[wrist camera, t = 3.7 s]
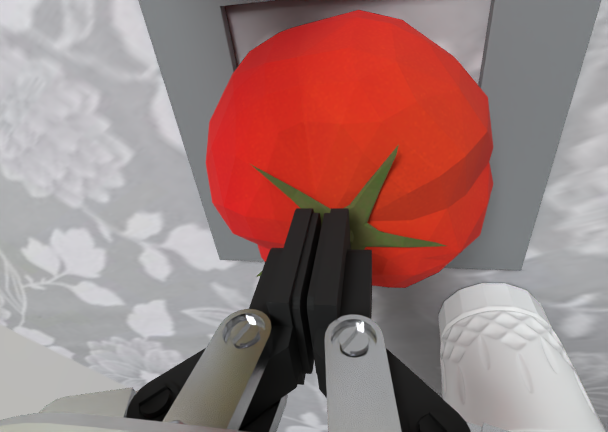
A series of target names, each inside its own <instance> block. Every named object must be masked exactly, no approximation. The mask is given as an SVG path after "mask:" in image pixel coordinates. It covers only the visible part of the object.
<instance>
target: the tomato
mask: <svg viewBox="0 0 608 432" xmlns="http://www.w3.org/2000/svg"><path fill="white" fill-rule="evenodd" d="M492 151H493V139H492V130H491V121H490V112H489V102H488V97H487V95H486V94H485V93H484V92H483V91H482V89H481V88H480V87H479V86H478V85H477V83H476V82H475V81H474V80H473V79H472V77H471V76H470V75H469V74H468V73H467V71H466V70H465V69H464V68H463V67H462V65H461V64H460V63H459V62H458V61H457V60H456V59H455V58H454V56H452V55H451V54H450V53H448V52H447V51H445V50H444V49H442V48H441V47H440V46H438V45H437V44H435V43H434V42H433V41H431V40H430V39H428V38H427V37H426V36H424V35H423V34H421V33H420V32H418V31H417V30H416V29H414V28H413V27H411V26H410V25H409V24H407V23H406V22H404V21H403V20H401V19H396V18H392V17H388V16H383V15H379V14H375V13H370V12H366V11H362V10H357V11H353V12H349V13H345V14H341V15H338V16H334V17H330V18H326V19H323V20H319V21H315V22H311V23H308V24H304V25H300V26H296V27H293V28H290V29H287V30H285V31H282V32H280V33H278V34H276V35H275V36H273V37H271V38H270V39H268V40H267V41H265V42H264V43H262V44H260V45H259V46H257V47H256V48H254V49H253V50H251V51H250V52H249V53H248V54H247V56H246V57H245V58H244V59H243V61H242V62H241V63H240V65H239V66H238V67H237V69H236V70H235V71H234V72H233V74H232V76H231V78H230V80H229V82H228V84H227V86H226V88H225V90H224V92H223V94H222V96H221V98H220V101H219V103H218V105H217V107H216V109H215V111H214V113H213V115H212V117H211V119H210V122H209V131H208V142H207V153H206V168H207V174H208V180H209V186H210V192H211V198H212V203H213V204H214V206H215V207H216V209H217V210H218V212H219V213H220V215H221V216H222V218H223V219H224V221H225V222H226V224H227V225H228V227H229V228H230V230H231V231H232V233H233V234H235V235H237V236H240V237H242V238H244V239H246V240H249V241H251V242H253V243H256V244H257V245H258V248H259V252H260V255H261V258H262V259H263V260H264V261H265V262H266V259H267V256H268V254H269V251H270V249H271V248H283V247H284V244H285V241H286V238H287V235H288V231H289V228H290V225H291V222H292V219H293V215H294V212H295V210H296V208H313V209H314V213H320V217H321V227H322V222H323V217H324V213H330V211H331V208H348V209H349V224H350V245H351V249H359V250H372V285H373V286H382V287H394V288H406V287H408V286H410V285H412V284H414V283H417V282H419V281H421V280H423V279H425V278H427V277H429V276H431V275H434V274H436V273H438V272H439V271H441V270H442V269H443V268H444V267H445V266H446V265H447V264H449V263H450V262H451V261H452V260H453V259H454V258H455V257H456V256H457V255H459V254H460V253H461V252H462V251H463V250H464V249H465V248H466V247H468V246H469V245H470V244H471V243H472V242H473V241H474V240H475V239H476V238H478V237H479V236H480V234H481V230H482V226H483V222H484V218H485V215H486V211H487V207H488V203H489V199H490V195H491V191H492V188H493V179H492V173H491V168H490V163H489V161H490V157H491V154H492ZM261 273H262V272H260V273H259V274H258V275H257V276H261ZM257 276H256V277H257Z"/></svg>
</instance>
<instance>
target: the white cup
mask: <svg viewBox="0 0 608 432" xmlns="http://www.w3.org/2000/svg"><path fill="white" fill-rule="evenodd" d="M438 319H439V330H440V340H441V347H440V363H441V384H442V397H443V400H444V401H446V402H447V403H448V404H449V405H450V406H451V407H452V408H453V409H454V410H456V411H457V412H458V413H459V414H460V415H461V417H462V418H463V419H464V420H465V421H466V422H469V423H472V424H475V425H478V426H481V427H482V425H483V423H485V424H488V425H492V426H495V427H498V428H501V429H504V430H507V431H510V432H606V431H605V429H604V427H603V425H602V423H601V421H600V419H599V417H598V415H597V413H596V411H595V408H594V406H593V404H592V402H591V400H590V398H589V396H588V394H587V392H586V390H585V388H584V386H583V384H582V382H581V380H580V378H579V376H578V374H577V372H576V370H575V368H574V366H573V365H572V363H571V361H570V359H569V358H568V356H567V354H566V351H565V349H564V347H563V345H562V343H561V342H560V340H559V338H558V337H557V335H556V333H555V332H554V331H553V329H552V327H551V325H550V323H549V321H548V319H547V316H546V314H545V312H544V310H543V308H542V306H541V304H540V303H539V302H538V301H537V300H536V299H535V298H534V297H533V296H532V295H531V294H530V293H529V292H528V291H527V290H524V289H521V288H518V287H515V286H512V285H509V284H506V283H480V284H477V285H473V286H470V287H467V288H463V289H460V290H458V291H457V292H456V293H454V294H453V295H452V296H450V297H449V298H448V299H447V300H445V301H444V303H443V305H442V308H441V310H440V313H439V315H438Z"/></svg>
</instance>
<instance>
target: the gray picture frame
mask: <svg viewBox="0 0 608 432" xmlns="http://www.w3.org/2000/svg"><path fill="white" fill-rule="evenodd" d="M264 1H273V0H139V4H140V7H141V10H142V13H143V16H144V20H145V23H146V26H147V29H148V32H149V36H150V39H151V42H152V45H153V48H154V51H155V55H156V58H157V61H158V64H159V67H160V71H161V74H162V77H163V80H164V83H165V86H166V90H167V93H168V96H169V99H170V102H171V106H172V109H173V112H174V115H175V118H176V121H177V125H178V128H179V131H180V134H181V137H182V141H183V144H184V147H185V150H186V153H187V156H188V160H189V163H190V166H191V169H192V172H193V176H194V179H195V182H196V185H197V188H198V191H199V195H200V198H201V201H202V204H203V207H204V211H205V214H206V217H207V220H208V223H209V227H210V230H211V233H212V236H213V239H214V242H215V246H216V249H217V252H218V255H219V258H220V260H242V261H264V260H263V259H262V258H261V255H260V252H259V248H258V245H257V244H256V243H253V242H251V241H249V240H246V239H244V238H242V237H240V236H237V235H235V234H233V233H232V231H231V230H230V228H229V227H228V225H227V224H226V222H225V221H224V219H223V218H222V216H221V215H220V213H219V212H218V210H217V209H216V207H215V206H214V204H213V203H212V198H211V192H210V186H209V180H208V174H207V168H206V153H207V142H208V131H209V122H210V119H211V117H212V115H213V113H214V111H215V109H216V107H217V105H218V103H219V101H220V98H221V96H222V94H223V92H224V90H225V88H226V86H227V84H228V82H229V80H230V78H231V76H232V74H233V72H234V71H235V70H236V69H237V66H236V61H235V56H234V51H233V46H232V41H231V36H230V31H229V26H228V21H227V16H226V11H225V6H226V5H236V4H245V3H254V2H264ZM600 3H601V0H491V6H490V13H489V19H488V26H487V32H486V39H485V46H484V52H483V59H482V65H481V72H480V78H479V85H478V86H479V87H480V88H481V89H482V91H483V92H484V93H485V94H486V95H487V97H488V102H489V112H490V121H491V130H492V139H493V151H492V154H491V157H490V161H489V163H490V168H491V173H492V179H493V188H492V191H491V195H490V199H489V203H488V207H487V211H486V215H485V218H484V222H483V226H482V230H481V234H480V236H479V237H478V238H476V239H475V240H474V241H473V242H472V243H471V244H470V245H469V246H468V247H466V248H465V249H464V250H463V251H462V252H461V253H460V254H459V255H457V256H456V257H455V258H454V259H453V260H452V261H451V262H450V263H449V264H447V265H446V266H445V267H444V268H467V269H495V270H521V268H522V265H523V261H524V258H525V255H526V251H527V248H528V245H529V241H530V238H531V235H532V231H533V228H534V224H535V221H536V218H537V214H538V211H539V208H540V204H541V201H542V198H543V194H544V191H545V188H546V184H547V181H548V177H549V174H550V171H551V167H552V164H553V161H554V157H555V154H556V151H557V147H558V144H559V140H560V137H561V134H562V130H563V127H564V124H565V120H566V117H567V114H568V110H569V107H570V104H571V100H572V97H573V93H574V90H575V87H576V83H577V80H578V77H579V73H580V70H581V67H582V63H583V60H584V56H585V53H586V50H587V46H588V43H589V40H590V36H591V33H592V30H593V26H594V23H595V20H596V16H597V13H598V9H599V6H600Z"/></svg>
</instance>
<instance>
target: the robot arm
mask: <svg viewBox="0 0 608 432" xmlns="http://www.w3.org/2000/svg"><path fill="white" fill-rule="evenodd" d="M371 312H372V250H359V249H351V245H350V224H349V209H348V208H331V211H330V213H324V217H323V222H322V227H321V217H320V213H314V209H313V208H296V210H295V212H294V215H293V219H292V222H291V225H290V228H289V231H288V235H287V238H286V241H285V244H284V247H283V248H271V249H270V251H269V254H268V256H267V259H266V262H265V265H264V268H263V271H262V273H261V276H260V279H259V282H258V285H257V288H256V290H255V293H254V296H253V299H252V302H251V304H250V307H249V309H244V310H239V311H237V312H235V313H232V314H231V315H229V316H228V317H227V318H225V319H224V320H223V322H222V323H221V324H220V326H219V327H218V329H217V331H216V332H215V334H214V336H213V337H212V339H211V341H210V342H209V344H208V346H207V347H206V348H205V349H203V350H202V351H200V352H198V353H197V354H195V355H193V356H192V357H190V358H188V359H187V360H185V361H184V362H182V363H180V364H179V365H177V366H175V367H174V368H172V369H170V370H169V371H167V372H165V373H164V374H162V375H160V376H159V377H157V378H155V379H154V380H152V381H151V382H149V383H147V384H146V385H145V386H143V387H142V388H141V389H140V390H138V391H135V390H134V389H133V387H132V388H125V389H117V390H110V391H103V392H96V393H89V394H81V395H75V396H67V397H63V398H60V399H57V400H55V401H53V402H52V403H50V404H48V405H46V406H45V407H44V408H43V409H42V410H41V411H40V412H39V413H34V414H27V415H20V416H16V417H11V418H7V419H3V420H0V432H276V431H277V428H278V425H279V423H280V420H281V417H282V414H283V411H284V409H285V406H286V403H287V398H288V395H287V394H288V393H289V392H291V391H292V390H294V389H295V388H296V387H297V384H301V385H304V380H305V374H306V373H307V374H311V373H312V370H313V364H314V360H315V366H316V373H317V376H318V383H319V389H320V390H321V392H322V393H323V394H324V395H325V396H326V398H327V414H328V432H510V431H507V430H504V429H501V428H498V427H495V426H492V425H488V424H485V423H483V425H482V427H481V426H478V425H475V424H472V423H469V422H466V421H465V420H464V419H463V418H462V417H461V415H460V414H459V413H458V412H457V411H456V410H454V409H453V408H452V407H451V406H450V405H449V404H448V403H447V402H446V401H444V400H443V399H442V398H441V397H440V396H439V395H438V394H437V393H435V392H434V391H433V390H432V389H431V388H430V387H429V386H428V385H427V384H425V383H424V382H423V381H422V380H421V379H420V378H419V377H418V376H417V375H415V374H414V373H413V372H412V371H411V370H410V369H409V368H408V367H406V366H405V365H404V364H403V363H402V362H401V361H400V360H399V359H398V358H396V357H395V356H394V355H393V354H392V353H391V352H390V351H389V350H387V349H386V347H385V342H384V337H383V334H382V331H381V329H380V327H379V326H378V325H377V324H376V323H375V322H374V321H373V320H371Z"/></svg>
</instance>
